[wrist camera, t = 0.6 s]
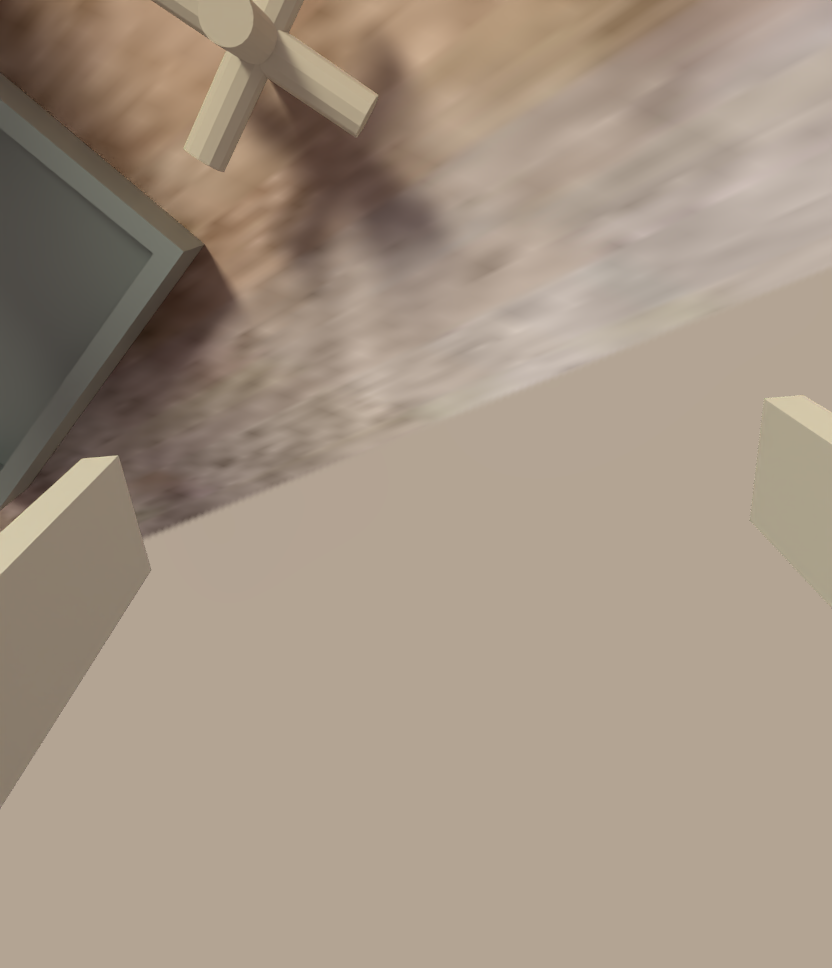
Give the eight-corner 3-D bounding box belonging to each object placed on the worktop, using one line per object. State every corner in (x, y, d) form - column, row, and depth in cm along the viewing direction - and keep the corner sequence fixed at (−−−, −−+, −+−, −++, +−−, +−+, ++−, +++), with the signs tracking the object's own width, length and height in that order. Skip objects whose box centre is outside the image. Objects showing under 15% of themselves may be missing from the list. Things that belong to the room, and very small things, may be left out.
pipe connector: (324, 219, 35) (290, 237, 26) (136, 99, 33) (27, 72, 24) (432, 16, 32) (436, -46, 23) (229, -133, 30) (144, -267, 20)
